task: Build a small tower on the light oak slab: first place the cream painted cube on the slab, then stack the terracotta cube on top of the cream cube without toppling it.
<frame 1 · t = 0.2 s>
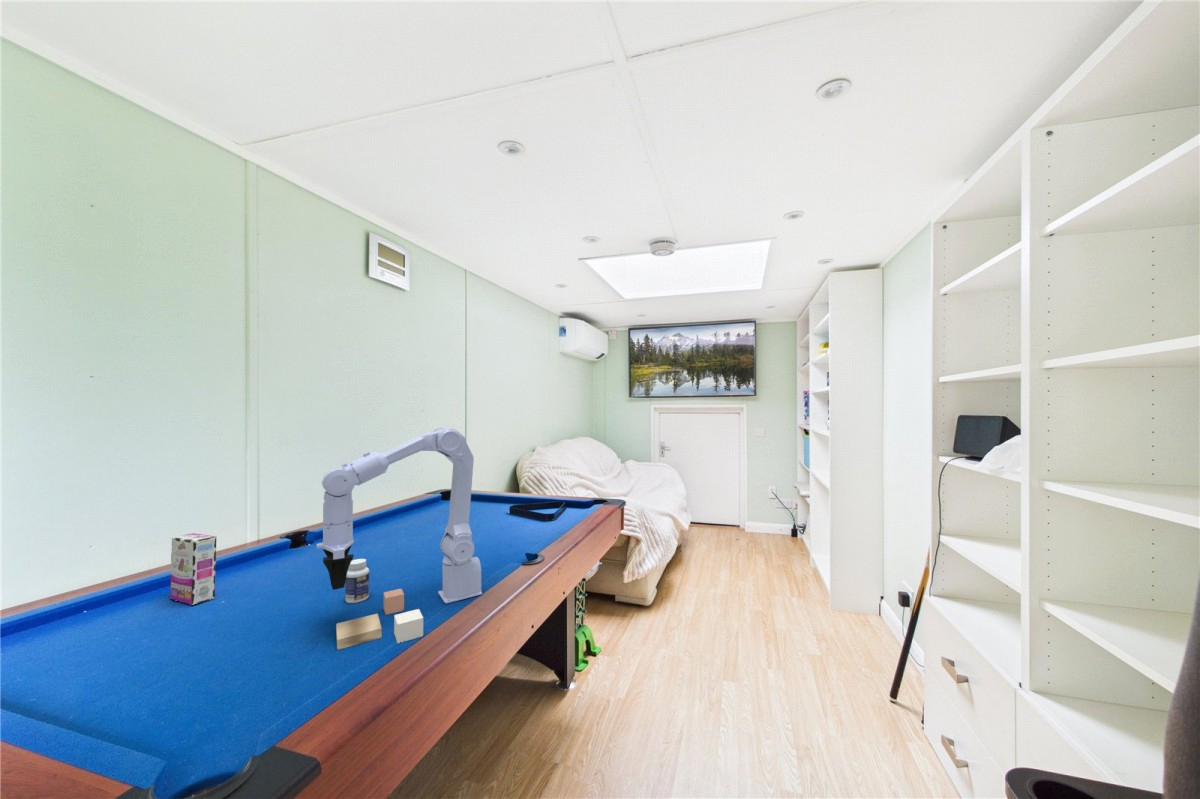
hand: (337, 582, 93), 10 cm above the table, fingers open, 7 cm apart
pill bottle: (357, 599, 107), on the table
terracotta cube: (393, 609, 101), on the table
candy bar box: (192, 600, 109), on the table
cream cube: (408, 635, 89), on the table
oak slab: (358, 635, 89), on the table
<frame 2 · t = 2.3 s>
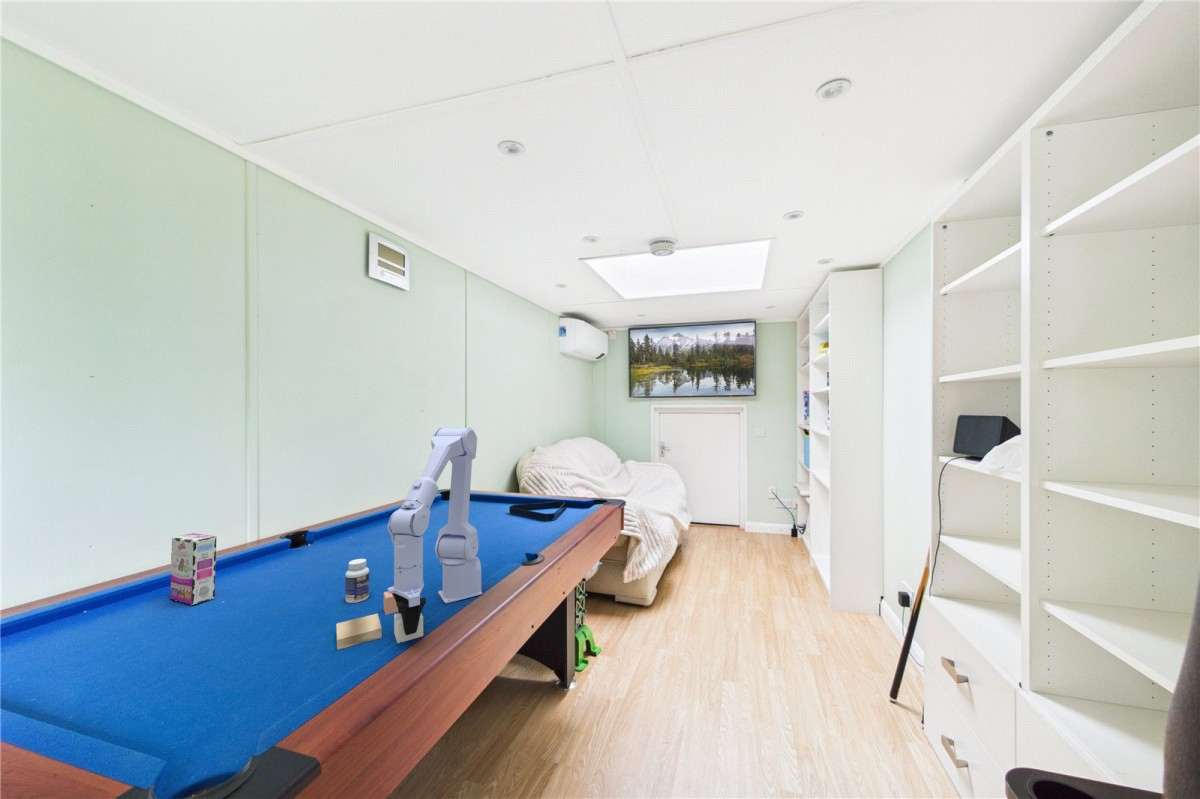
hand: (408, 627, 89), 1 cm above the table, fingers closed on cream cube, 5 cm apart
cream cube: (408, 634, 89), on the table, touching gripper
everything else where it was.
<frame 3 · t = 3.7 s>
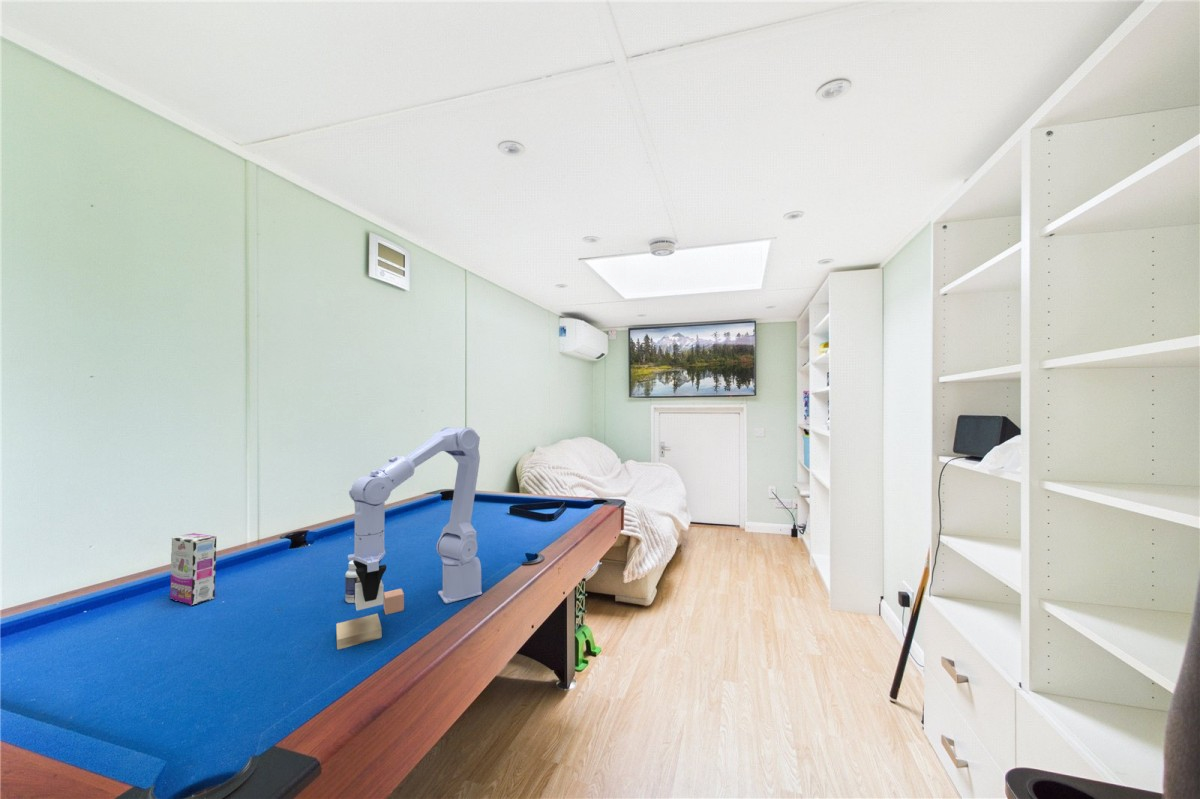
hand: (369, 595, 89), 8 cm above the table, fingers closed on cream cube, 5 cm apart
cream cube: (369, 603, 89), point 7 cm above the table, touching gripper
everything else where it was.
when the fingers open (4 cm above the table, at t = 5.1 s): cream cube stays where it is, resting on oak slab.
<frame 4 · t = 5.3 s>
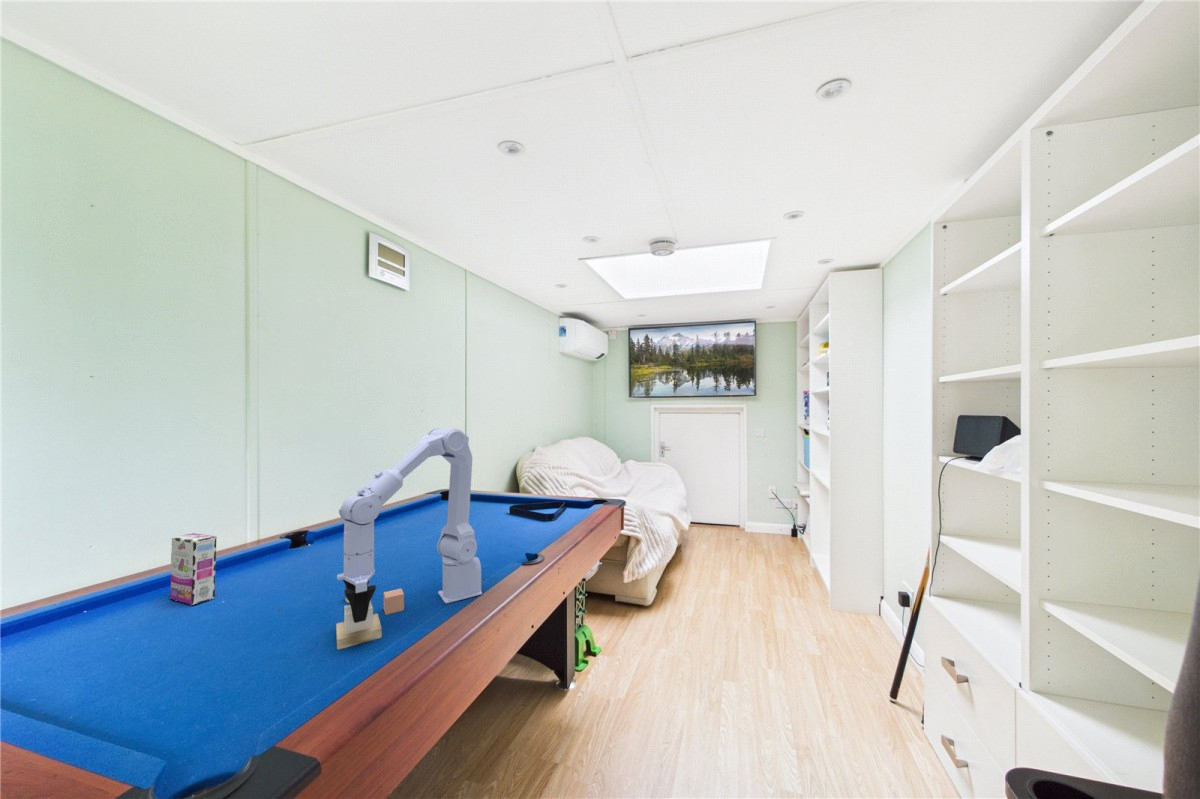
hand: (358, 614, 89), 4 cm above the table, fingers open, 6 cm apart
cream cube: (358, 625, 89), point 2 cm above the table, touching oak slab
everything else where it was.
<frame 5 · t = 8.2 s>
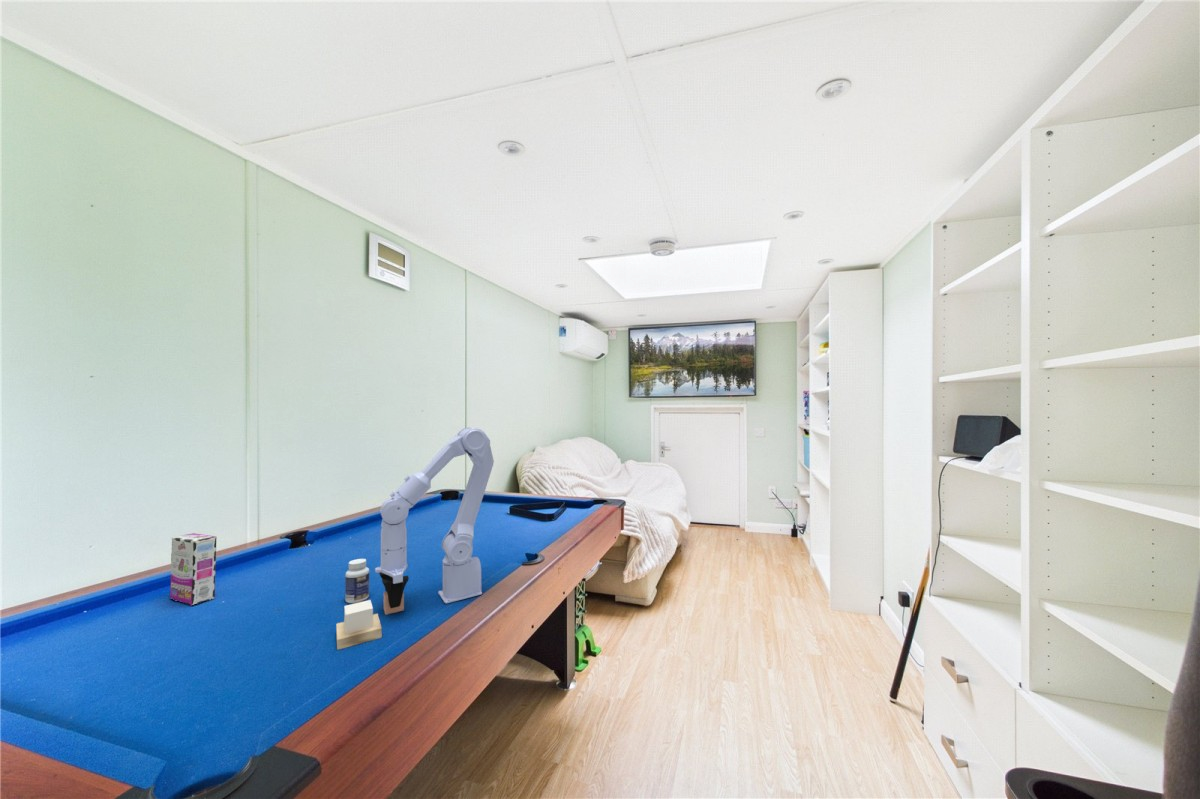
hand: (393, 603, 101), 1 cm above the table, fingers closed on terracotta cube, 4 cm apart
terracotta cube: (393, 609, 101), on the table, touching gripper
everything else where it was.
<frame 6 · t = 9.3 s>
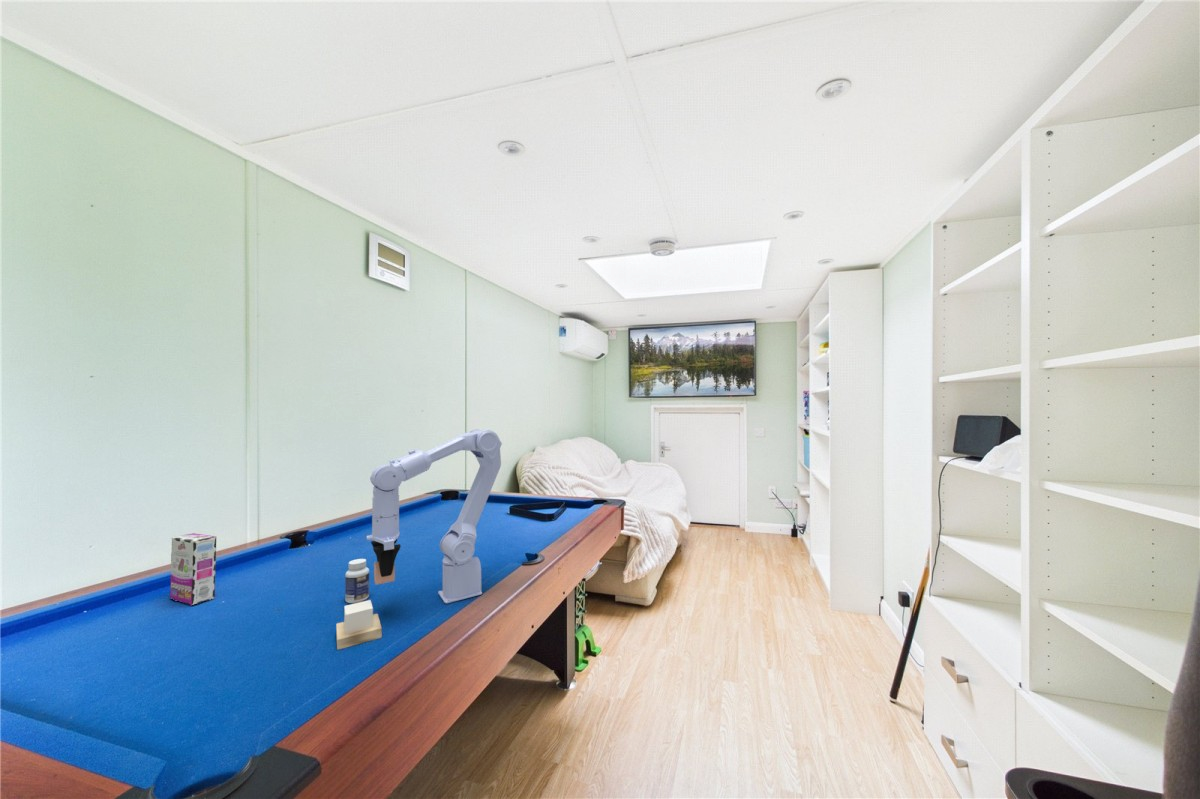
hand: (385, 572, 99), 10 cm above the table, fingers closed on terracotta cube, 4 cm apart
terracotta cube: (384, 579, 98), point 8 cm above the table, touching gripper
everything else where it was.
when the fingers open (8 cm above the table, at t = 10.6 s): terracotta cube stays where it is, resting on cream cube.
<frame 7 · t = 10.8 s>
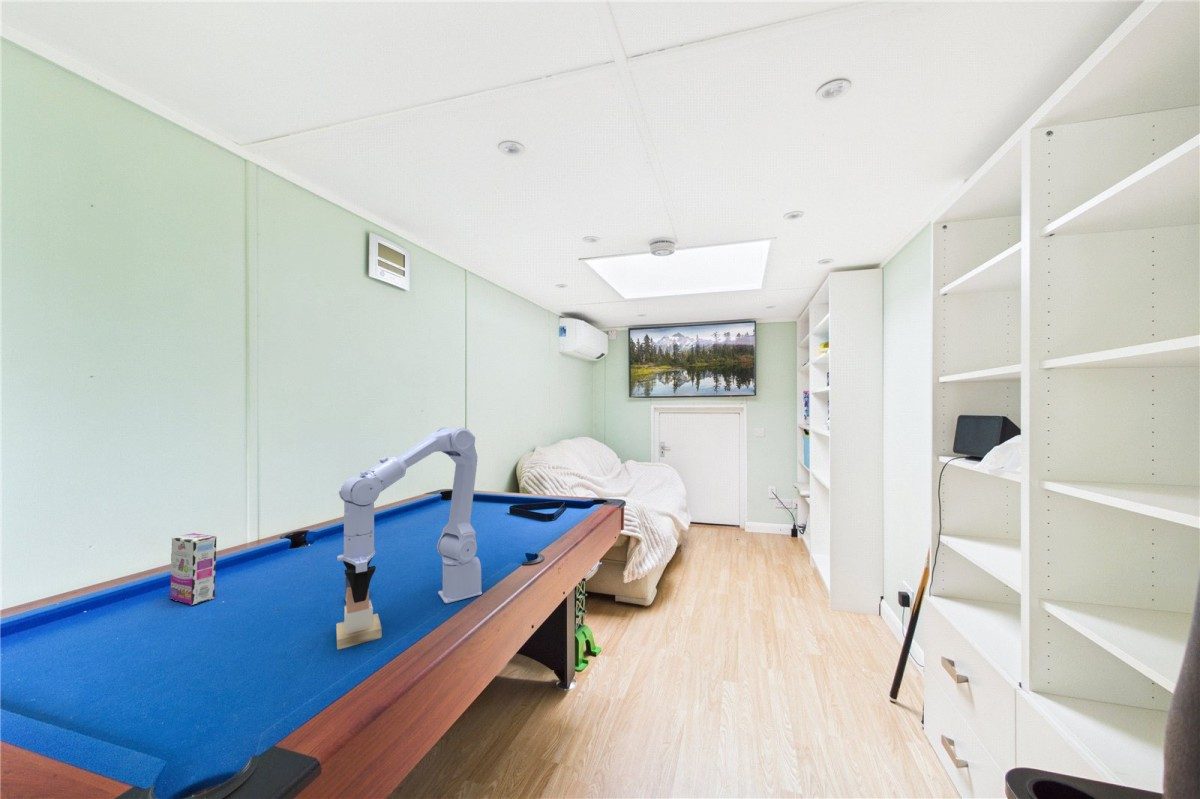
hand: (358, 595, 90), 8 cm above the table, fingers open, 6 cm apart
terracotta cube: (357, 607, 89), point 6 cm above the table, touching cream cube
cream cube: (358, 625, 89), point 2 cm above the table, touching oak slab, terracotta cube
everything else where it was.
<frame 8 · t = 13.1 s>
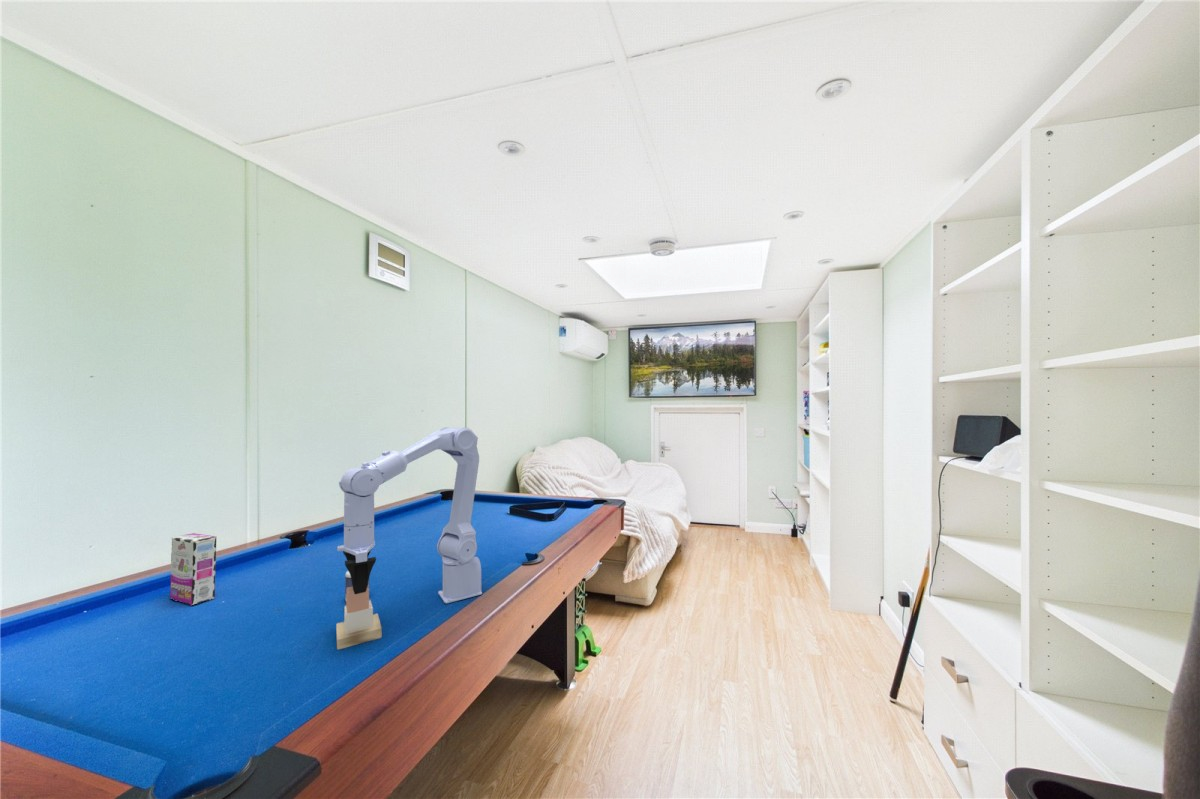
hand: (358, 586, 90), 10 cm above the table, fingers open, 7 cm apart
nothing on the table moved.
at the end: cream cube 0.0 cm off-centre on the oak slab, point 2.0 cm above the oak slab's base; terracotta cube 0.2 cm off-centre on the cream cube, point 4.0 cm above the cream cube's base; terracotta cube tilted 0° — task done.
